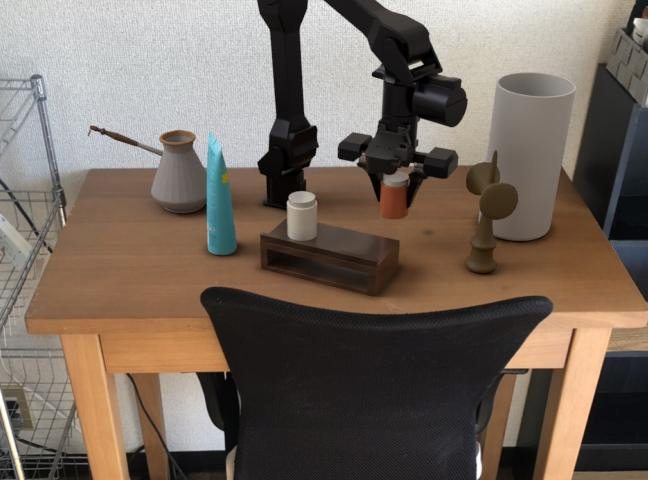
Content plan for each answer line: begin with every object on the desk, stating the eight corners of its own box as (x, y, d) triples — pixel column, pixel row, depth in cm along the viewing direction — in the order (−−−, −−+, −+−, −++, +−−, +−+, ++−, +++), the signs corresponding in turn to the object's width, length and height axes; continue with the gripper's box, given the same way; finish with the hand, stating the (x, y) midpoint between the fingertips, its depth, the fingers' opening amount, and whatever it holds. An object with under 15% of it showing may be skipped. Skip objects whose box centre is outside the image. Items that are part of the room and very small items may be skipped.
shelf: (261, 268, 138) (259, 234, 134) (289, 242, 145) (288, 209, 141) (374, 296, 131) (376, 261, 127) (398, 268, 138) (400, 233, 134)
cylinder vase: (547, 213, 154) (572, 74, 139) (551, 245, 144) (579, 99, 129) (478, 208, 156) (495, 70, 141) (477, 240, 146) (496, 94, 131)
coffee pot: (217, 190, 161) (211, 113, 152) (212, 217, 152) (206, 136, 143) (105, 191, 161) (92, 113, 152) (93, 218, 152) (79, 137, 142)
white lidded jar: (282, 237, 136) (281, 199, 132) (295, 225, 139) (295, 188, 135) (309, 243, 134) (308, 205, 130) (322, 231, 137) (322, 193, 133)
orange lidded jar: (374, 215, 140) (376, 178, 136) (385, 204, 143) (387, 168, 139) (401, 221, 138) (404, 184, 134) (412, 210, 142) (415, 173, 138)
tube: (243, 255, 141) (237, 144, 129) (216, 261, 139) (207, 149, 128) (227, 236, 146) (220, 128, 135) (201, 242, 145) (191, 133, 133)
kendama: (470, 283, 134) (485, 163, 122) (454, 254, 142) (467, 138, 130) (506, 281, 135) (525, 161, 123) (489, 252, 142) (505, 137, 130)
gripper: (323, 117, 128) (322, 212, 137) (440, 138, 121) (431, 236, 131) (352, 96, 136) (350, 187, 145) (464, 114, 129) (453, 208, 139)
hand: (394, 204), depth 140 cm, fingers closed on orange lidded jar, 5 cm apart
